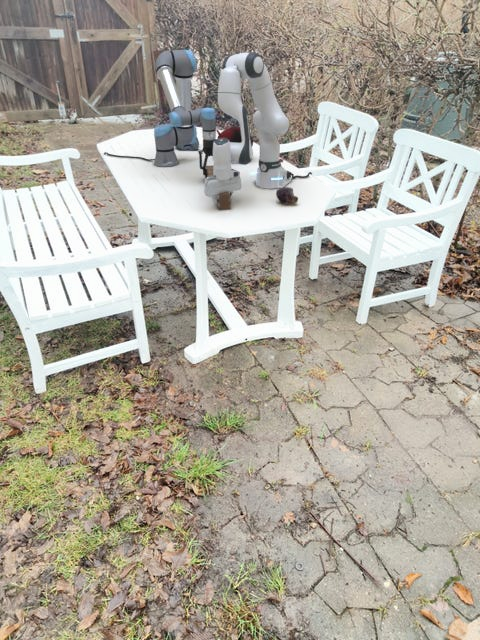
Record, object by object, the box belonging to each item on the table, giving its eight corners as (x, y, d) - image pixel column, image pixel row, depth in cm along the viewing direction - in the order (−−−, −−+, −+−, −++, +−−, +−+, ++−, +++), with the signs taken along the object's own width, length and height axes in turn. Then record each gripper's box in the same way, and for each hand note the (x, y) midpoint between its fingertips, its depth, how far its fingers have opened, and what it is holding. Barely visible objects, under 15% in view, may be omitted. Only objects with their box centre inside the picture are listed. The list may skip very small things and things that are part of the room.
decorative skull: (214, 132, 305) (214, 129, 282) (248, 124, 304) (250, 121, 281) (221, 164, 312) (221, 164, 288) (254, 157, 311) (257, 156, 288)
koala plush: (199, 150, 321) (197, 121, 310) (174, 151, 320) (171, 121, 309) (199, 144, 335) (197, 116, 324) (175, 145, 334) (172, 117, 323)
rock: (287, 200, 238) (271, 203, 234) (287, 184, 235) (271, 186, 231) (300, 203, 229) (283, 206, 225) (300, 186, 225) (283, 189, 221)
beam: (205, 179, 267) (205, 165, 262) (214, 178, 268) (214, 165, 263) (219, 209, 225) (219, 194, 221) (230, 209, 226) (229, 194, 222)
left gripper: (193, 141, 245) (196, 183, 259) (226, 139, 248) (227, 181, 262) (192, 138, 251) (194, 179, 265) (224, 136, 254) (225, 177, 268)
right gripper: (207, 179, 213) (209, 207, 221) (242, 171, 223) (242, 198, 231) (200, 176, 217) (202, 203, 225) (235, 168, 227) (236, 195, 235)
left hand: (211, 180), depth 263 cm, fingers closed on beam, 5 cm apart
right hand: (223, 201), depth 228 cm, fingers closed on beam, 6 cm apart
